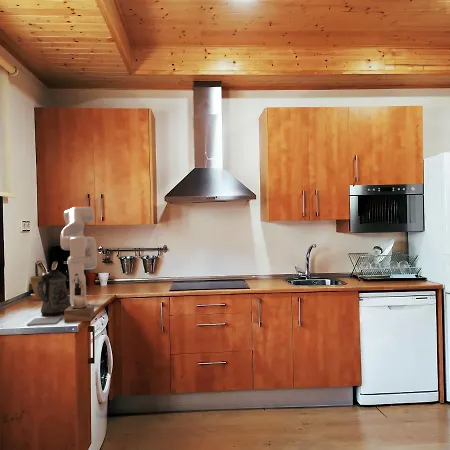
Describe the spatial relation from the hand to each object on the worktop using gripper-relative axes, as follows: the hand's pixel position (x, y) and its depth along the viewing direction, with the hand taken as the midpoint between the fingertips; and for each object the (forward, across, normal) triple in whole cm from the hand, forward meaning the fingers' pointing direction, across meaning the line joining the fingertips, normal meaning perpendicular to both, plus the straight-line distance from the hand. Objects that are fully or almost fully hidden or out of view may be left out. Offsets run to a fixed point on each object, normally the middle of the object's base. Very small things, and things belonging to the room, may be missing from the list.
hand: (78, 293), depth 235 cm
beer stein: (+14, -16, -16) cm, 27 cm away
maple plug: (+7, 0, 0) cm, 7 cm away
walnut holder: (+13, +1, 0) cm, 13 cm away
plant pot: (+15, -73, -37) cm, 83 cm away
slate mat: (+13, +3, -17) cm, 22 cm away
